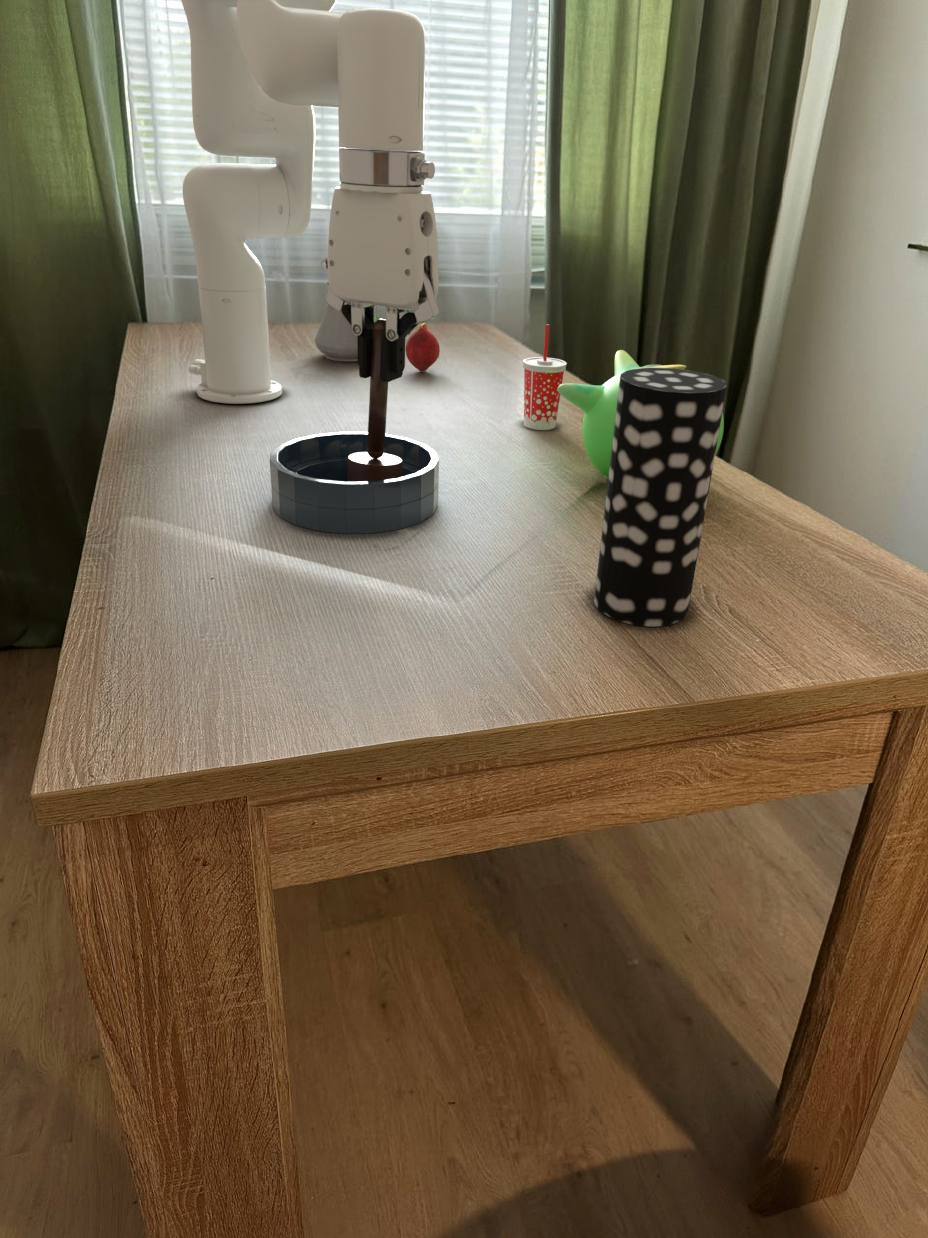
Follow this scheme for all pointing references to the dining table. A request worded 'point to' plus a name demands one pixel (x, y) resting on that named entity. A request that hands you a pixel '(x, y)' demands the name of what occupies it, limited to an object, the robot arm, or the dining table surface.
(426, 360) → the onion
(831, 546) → the dining table surface
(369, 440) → the brown rod with base
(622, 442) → the white-spotted black cylinder
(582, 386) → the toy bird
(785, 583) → the dining table surface
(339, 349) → the coffee pot
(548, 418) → the beverage cup
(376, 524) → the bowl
